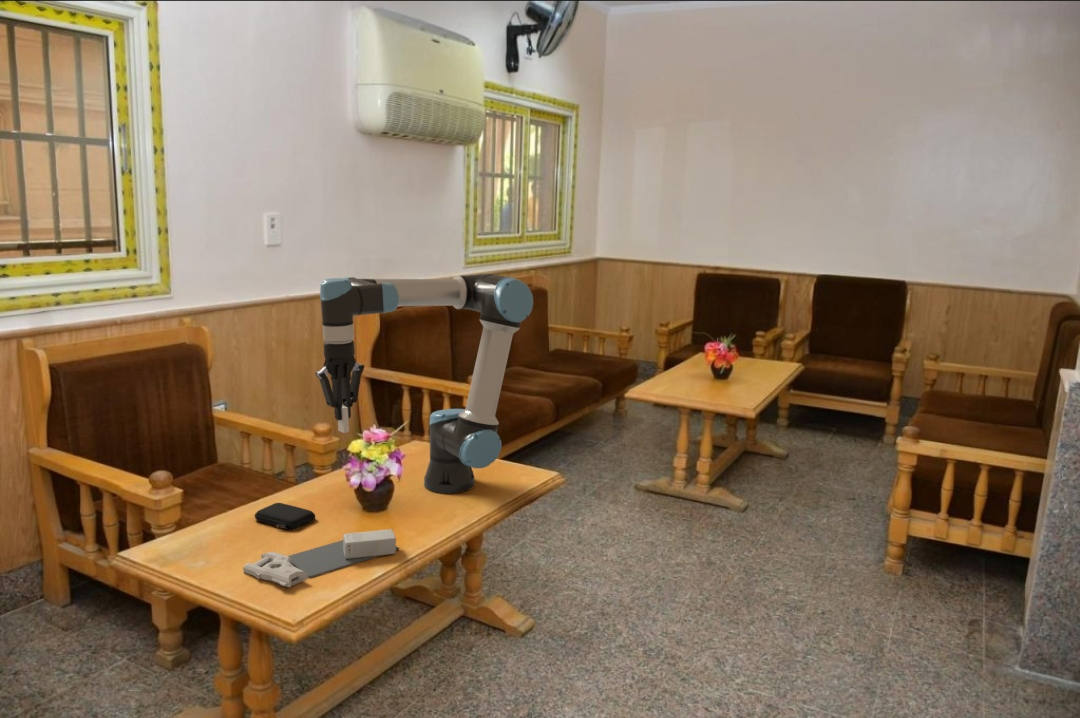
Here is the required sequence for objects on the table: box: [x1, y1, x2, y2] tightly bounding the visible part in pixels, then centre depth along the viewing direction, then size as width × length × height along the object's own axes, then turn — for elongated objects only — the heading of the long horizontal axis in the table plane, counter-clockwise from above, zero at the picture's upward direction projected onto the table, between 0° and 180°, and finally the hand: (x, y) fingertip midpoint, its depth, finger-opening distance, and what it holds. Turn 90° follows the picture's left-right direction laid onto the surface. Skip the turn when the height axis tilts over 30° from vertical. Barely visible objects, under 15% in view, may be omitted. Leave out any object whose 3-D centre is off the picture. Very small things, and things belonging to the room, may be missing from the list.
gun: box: [242, 551, 309, 588], centre depth 193 cm, size 18×3×10 cm
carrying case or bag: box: [254, 502, 316, 531], centre depth 222 cm, size 11×3×15 cm
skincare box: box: [342, 528, 397, 559], centre depth 204 cm, size 6×4×12 cm
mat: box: [287, 539, 401, 579], centre depth 204 cm, size 24×13×1 cm, turn 132°
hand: (343, 431), depth 214 cm, fingers closed
